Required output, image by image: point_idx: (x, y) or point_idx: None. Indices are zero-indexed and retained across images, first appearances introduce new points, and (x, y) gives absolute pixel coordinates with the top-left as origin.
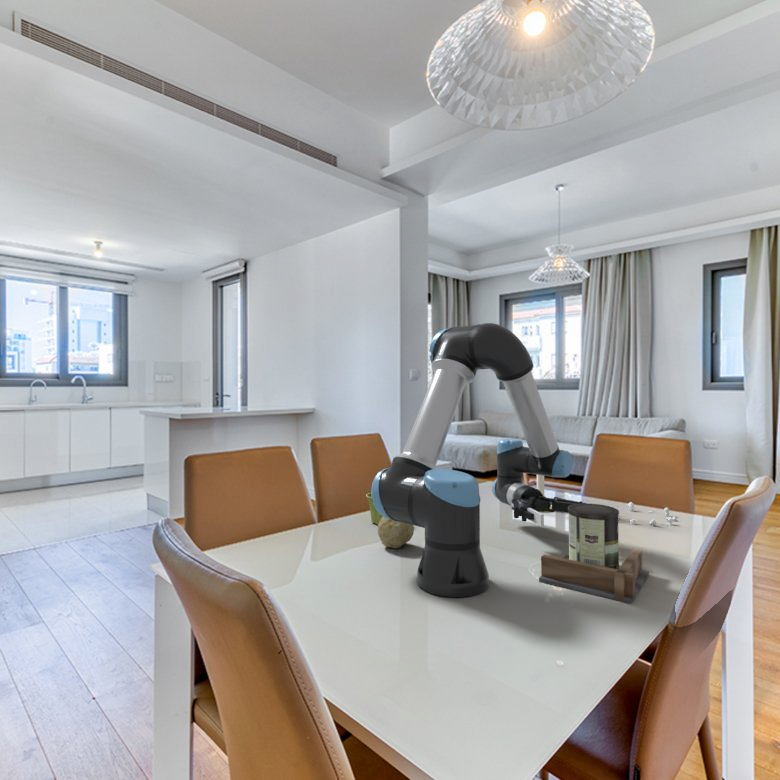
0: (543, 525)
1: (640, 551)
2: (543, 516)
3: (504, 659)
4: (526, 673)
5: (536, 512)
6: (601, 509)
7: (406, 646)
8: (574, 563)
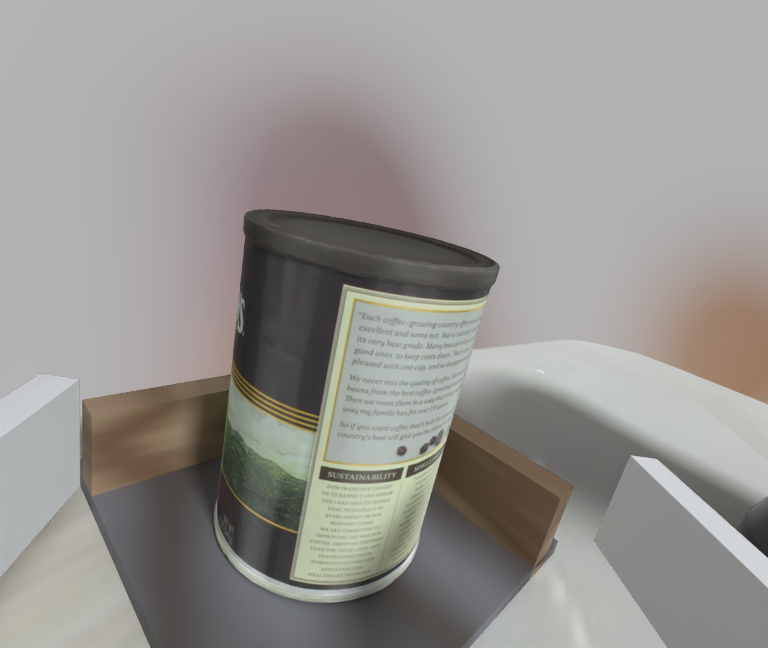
0: (598, 538)
1: (101, 398)
2: (626, 472)
3: (611, 390)
4: (581, 373)
5: (724, 521)
6: (332, 229)
7: (764, 438)
8: (458, 418)
